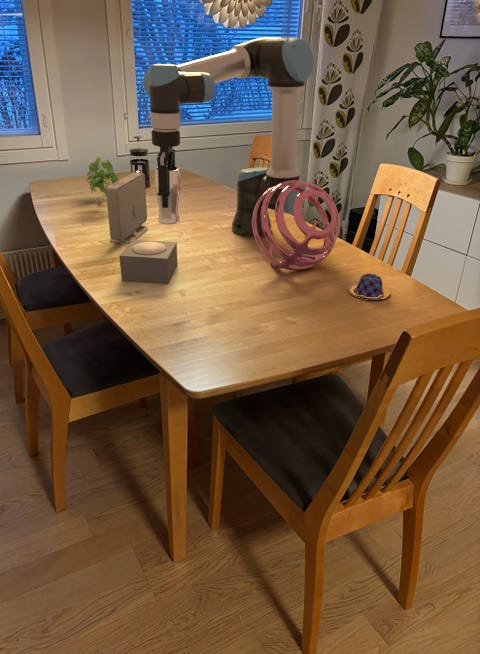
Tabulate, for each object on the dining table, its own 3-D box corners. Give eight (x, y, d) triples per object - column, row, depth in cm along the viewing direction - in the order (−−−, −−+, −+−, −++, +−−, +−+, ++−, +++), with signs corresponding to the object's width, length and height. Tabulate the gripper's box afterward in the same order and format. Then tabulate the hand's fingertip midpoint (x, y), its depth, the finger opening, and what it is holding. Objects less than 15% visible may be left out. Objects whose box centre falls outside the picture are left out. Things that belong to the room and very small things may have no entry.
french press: (127, 184, 253) (123, 135, 242) (145, 182, 258) (142, 134, 246) (137, 189, 245) (134, 139, 233) (155, 187, 249) (153, 137, 238)
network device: (127, 247, 177) (122, 189, 167) (103, 245, 178) (97, 187, 168) (153, 225, 199) (150, 172, 189) (131, 223, 200) (127, 171, 190)
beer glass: (181, 217, 151) (180, 165, 144) (180, 225, 145) (179, 171, 138) (157, 217, 151) (155, 165, 143) (155, 225, 145) (153, 170, 137)
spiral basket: (236, 191, 170) (276, 156, 146) (307, 206, 182) (356, 176, 158) (235, 274, 166) (277, 252, 142) (308, 283, 178) (358, 264, 154)
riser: (177, 266, 163) (176, 240, 159) (168, 284, 151) (167, 257, 147) (134, 263, 164) (132, 238, 160) (121, 281, 152) (119, 254, 148)
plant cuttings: (117, 207, 242) (74, 180, 231) (137, 177, 238) (95, 147, 227) (126, 230, 213) (77, 200, 202) (149, 196, 209) (101, 164, 198)
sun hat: (364, 305, 143) (367, 288, 141) (340, 288, 153) (342, 272, 150) (398, 298, 148) (401, 282, 145) (373, 282, 157) (375, 266, 155)
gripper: (158, 124, 145) (162, 204, 156) (143, 134, 128) (148, 224, 139) (185, 125, 144) (186, 206, 155) (173, 135, 127) (175, 225, 138)
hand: (168, 214), depth 147 cm, fingers closed on beer glass, 6 cm apart
